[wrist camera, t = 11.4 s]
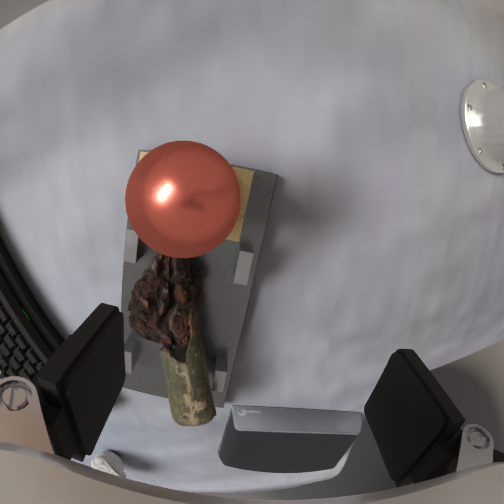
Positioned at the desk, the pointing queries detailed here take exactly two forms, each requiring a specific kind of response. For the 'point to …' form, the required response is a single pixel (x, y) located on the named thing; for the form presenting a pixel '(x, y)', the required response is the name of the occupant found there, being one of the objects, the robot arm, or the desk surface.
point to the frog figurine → (108, 463)
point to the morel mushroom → (175, 334)
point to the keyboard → (22, 325)
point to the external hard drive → (287, 438)
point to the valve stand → (194, 249)
